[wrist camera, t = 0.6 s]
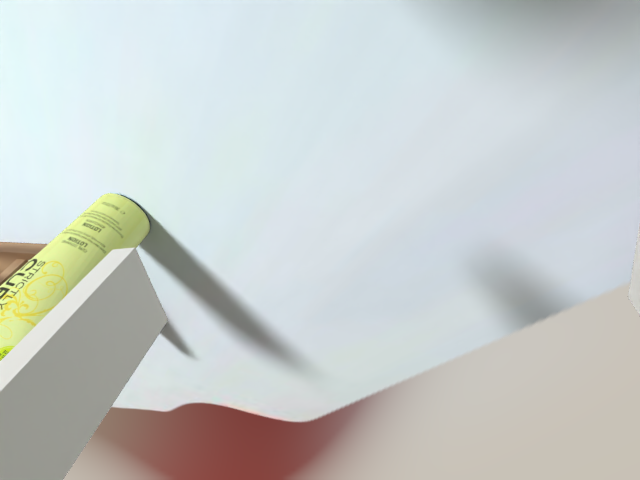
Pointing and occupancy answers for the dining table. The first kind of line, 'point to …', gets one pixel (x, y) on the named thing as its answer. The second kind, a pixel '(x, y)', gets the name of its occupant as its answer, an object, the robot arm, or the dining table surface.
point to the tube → (66, 264)
